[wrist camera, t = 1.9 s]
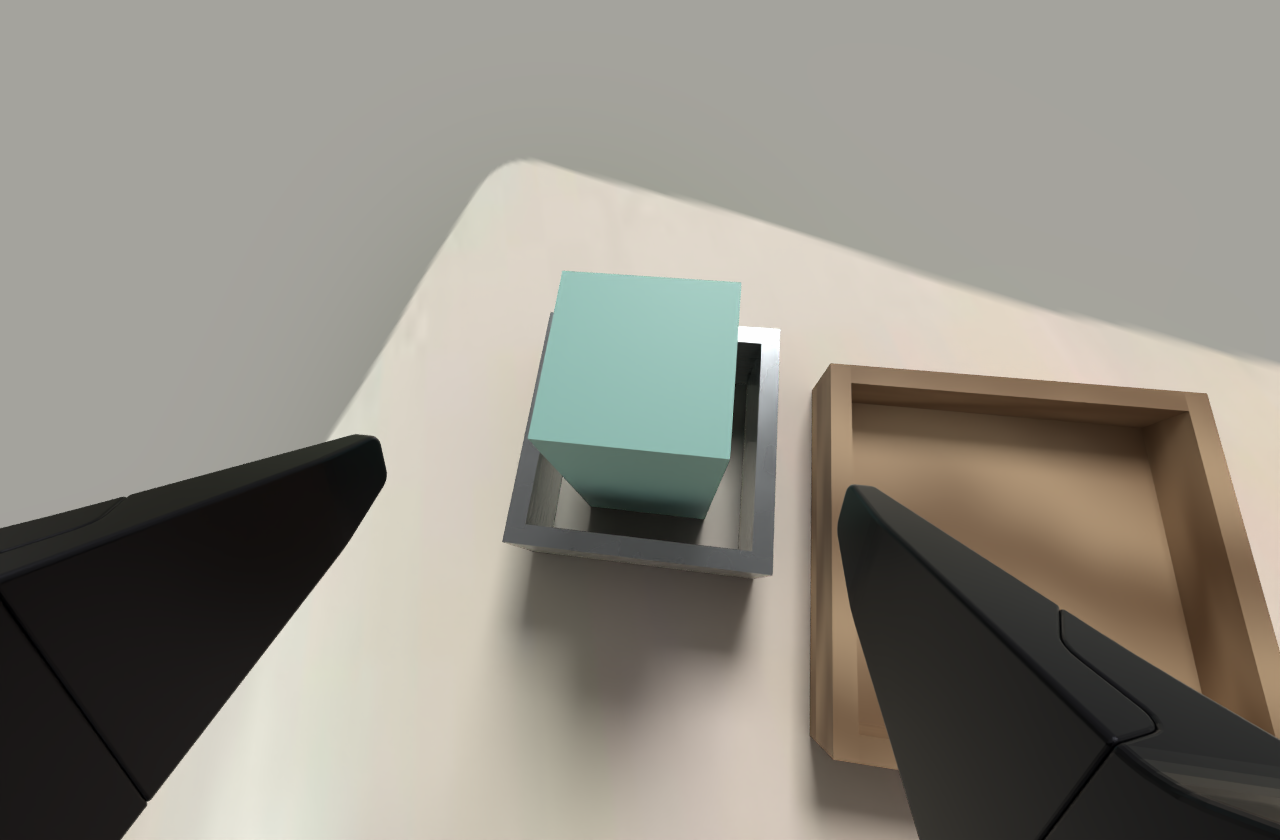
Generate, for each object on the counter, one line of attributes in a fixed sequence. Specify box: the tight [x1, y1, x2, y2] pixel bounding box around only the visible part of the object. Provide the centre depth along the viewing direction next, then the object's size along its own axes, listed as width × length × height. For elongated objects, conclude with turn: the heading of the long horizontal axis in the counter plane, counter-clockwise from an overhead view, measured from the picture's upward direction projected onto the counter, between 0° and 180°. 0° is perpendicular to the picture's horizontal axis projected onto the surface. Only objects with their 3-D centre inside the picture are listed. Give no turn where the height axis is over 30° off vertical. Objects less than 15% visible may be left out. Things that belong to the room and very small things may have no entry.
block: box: [528, 271, 741, 519], centre depth 17 cm, size 5×5×10 cm
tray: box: [810, 363, 1280, 770], centre depth 18 cm, size 14×14×3 cm
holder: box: [502, 312, 780, 579], centre depth 20 cm, size 9×9×4 cm
